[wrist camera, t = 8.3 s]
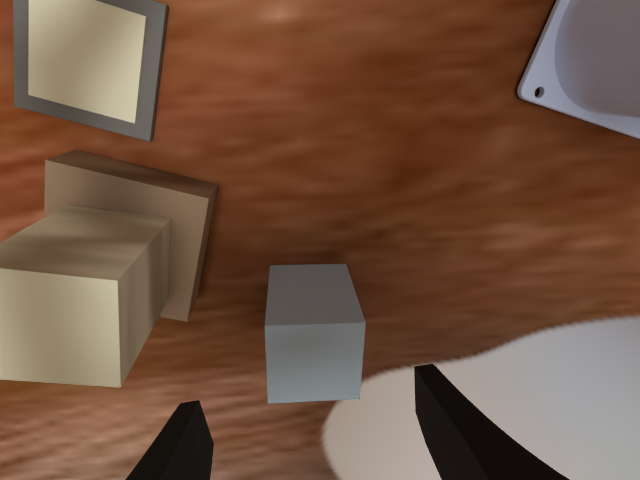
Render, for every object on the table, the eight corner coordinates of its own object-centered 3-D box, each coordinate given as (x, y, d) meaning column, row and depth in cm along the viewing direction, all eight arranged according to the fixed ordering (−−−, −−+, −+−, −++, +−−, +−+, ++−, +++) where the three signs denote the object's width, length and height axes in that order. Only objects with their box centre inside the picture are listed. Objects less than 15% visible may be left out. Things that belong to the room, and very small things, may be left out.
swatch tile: (168, 6, 17) (164, 3, 16) (152, 140, 19) (148, 141, 18) (19, -43, 15) (9, -48, 15) (20, 105, 18) (11, 106, 17)
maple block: (170, 218, 18) (117, 280, 12) (167, 300, 19) (120, 387, 14) (66, 204, 17) (-38, 264, 11) (73, 290, 19) (-16, 378, 13)
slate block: (346, 263, 22) (365, 322, 17) (342, 326, 24) (359, 398, 18) (270, 265, 22) (264, 325, 16) (272, 328, 24) (268, 403, 18)
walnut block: (219, 182, 20) (209, 198, 17) (199, 292, 23) (187, 321, 20) (80, 148, 19) (45, 159, 16) (74, 268, 21) (43, 296, 19)
